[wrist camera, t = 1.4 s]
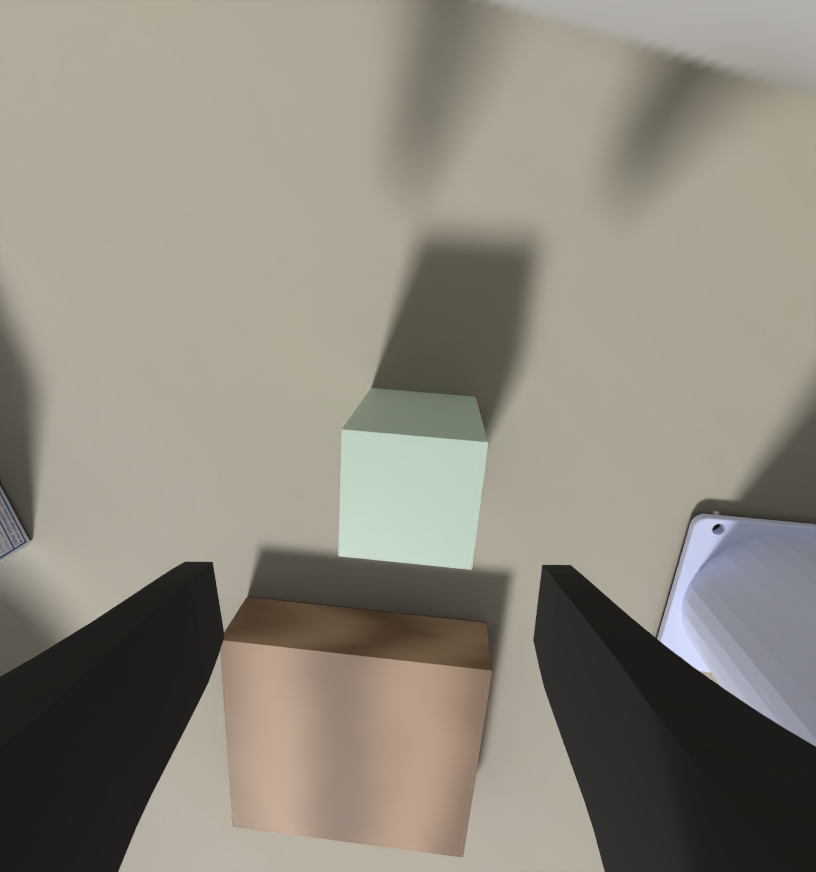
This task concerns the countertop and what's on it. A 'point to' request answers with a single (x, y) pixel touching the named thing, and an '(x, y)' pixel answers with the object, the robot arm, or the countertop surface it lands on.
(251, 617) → the walnut block
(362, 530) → the sage block
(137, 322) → the countertop surface
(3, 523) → the medicine box
